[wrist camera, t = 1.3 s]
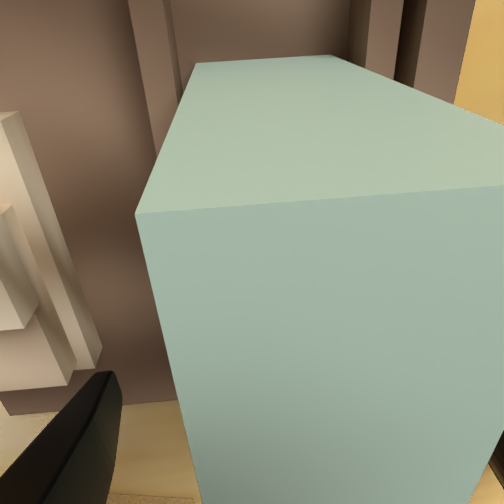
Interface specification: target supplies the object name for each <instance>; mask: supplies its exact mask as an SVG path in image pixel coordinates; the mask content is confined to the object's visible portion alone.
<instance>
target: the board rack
mask: <svg viewBox="0 0 504 504" xmlns="http://www.w3.org/2000/svg"><path fill="white" fill-rule="evenodd" d="M474 5H475V0H0V112H15V111H19V113H20V116H21V118H22V121H23V124H24V127H25V130H26V133H27V135H28V138H29V141H30V144H31V147H32V149H33V152H34V155H35V158H36V161H37V164H38V166H39V169H40V172H41V175H42V178H43V180H44V183H45V186H46V189H47V192H48V195H49V197H50V200H51V203H52V206H53V209H54V211H55V214H56V217H57V220H58V223H59V226H60V228H61V231H62V234H63V237H64V240H65V242H66V245H67V248H68V251H69V254H70V257H71V259H72V262H73V265H74V268H75V271H76V273H77V276H78V279H79V282H80V285H81V288H82V290H83V293H84V296H85V299H86V302H87V304H88V307H89V310H90V313H91V316H92V319H93V321H94V324H95V327H96V330H97V333H98V335H99V338H100V341H101V344H102V350H101V353H100V356H99V359H98V362H97V365H96V368H93V369H82V370H73V373H72V375H71V378H70V380H69V383H68V385H66V386H55V387H44V388H33V389H23V390H12V391H1V392H0V400H1V402H2V404H3V405H4V407H5V409H6V410H7V412H8V413H9V415H10V416H13V415H23V414H34V413H44V412H55V411H60V410H61V409H62V408H63V407H64V406H65V405H66V404H67V403H68V401H69V400H70V399H71V398H72V397H73V396H74V395H75V394H76V393H77V391H78V390H79V389H80V388H81V387H82V386H83V385H84V384H85V383H86V382H87V380H88V379H89V378H90V377H91V376H92V375H93V374H94V373H95V372H98V371H108V370H112V371H114V372H115V374H116V377H117V380H118V383H119V386H120V388H121V391H122V397H123V401H122V405H129V404H139V403H150V402H160V401H171V400H178V397H177V393H176V388H175V384H174V380H173V376H172V371H171V367H170V363H169V359H168V354H167V350H166V346H165V342H164V337H163V333H162V329H161V324H160V320H159V316H158V312H157V307H156V303H155V299H154V295H153V290H152V286H151V282H150V278H149V273H148V269H147V265H146V261H145V256H144V252H143V248H142V244H141V239H140V235H139V231H138V226H137V222H136V218H135V212H136V209H137V207H138V204H139V202H140V199H141V197H142V194H143V192H144V189H145V187H146V185H147V182H148V180H149V177H150V175H151V172H152V170H153V167H154V165H155V163H156V160H157V158H158V155H159V153H160V150H161V148H162V145H163V143H164V140H165V138H166V136H167V133H168V131H169V128H170V126H171V123H172V121H173V118H174V116H175V113H176V111H177V109H178V106H179V104H180V101H181V99H182V96H183V94H184V91H185V89H186V87H187V84H188V82H189V79H190V77H191V74H192V72H193V69H194V67H195V64H196V63H206V62H221V61H237V60H252V59H268V58H283V57H299V56H314V55H329V54H330V55H333V56H335V57H338V58H340V59H342V60H345V61H347V62H350V63H352V64H355V65H357V66H360V67H362V68H365V69H367V70H369V71H372V72H374V73H377V74H379V75H382V76H384V77H387V78H389V79H391V80H394V81H396V82H399V83H401V84H404V85H406V86H409V87H411V88H414V89H416V90H418V91H421V92H423V93H426V94H428V95H431V96H433V97H436V98H438V99H440V100H443V101H445V102H448V103H450V104H454V99H455V94H456V89H457V85H458V80H459V75H460V71H461V66H462V61H463V57H464V52H465V47H466V43H467V38H468V33H469V29H470V24H471V19H472V14H473V10H474Z"/></svg>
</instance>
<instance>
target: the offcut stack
mask: <svg viewBox="0 0 504 504" xmlns="http://www.w3.org/2000/svg"><path fill="white" fill-rule="evenodd" d="M101 350H102V344H101V341H100V338H99V335H98V333H97V330H96V327H95V324H94V321H93V319H92V316H91V313H90V310H89V307H88V304H87V302H86V299H85V296H84V293H83V290H82V288H81V285H80V282H79V279H78V276H77V273H76V271H75V268H74V265H73V262H72V259H71V257H70V254H69V251H68V248H67V245H66V242H65V240H64V237H63V234H62V231H61V228H60V226H59V223H58V220H57V217H56V214H55V211H54V209H53V206H52V203H51V200H50V197H49V195H48V192H47V189H46V186H45V183H44V180H43V178H42V175H41V172H40V169H39V166H38V164H37V161H36V158H35V155H34V152H33V149H32V147H31V144H30V141H29V138H28V135H27V133H26V130H25V127H24V124H23V121H22V118H21V116H20V113H19V111H15V112H0V392H1V391H12V390H23V389H33V388H44V387H55V386H66V385H68V383H69V380H70V378H71V375H72V373H73V370H82V369H93V368H96V365H97V362H98V359H99V356H100V353H101Z"/></svg>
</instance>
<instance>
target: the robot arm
mask: <svg viewBox="0 0 504 504" xmlns="http://www.w3.org/2000/svg"><path fill="white" fill-rule="evenodd" d="M122 401H123V397H122V391H121V388H120V386H119V383H118V380H117V377H116V374H115V372H114V371H112V370H108V371H98V372H95V373H94V374H93V375H92V376H91V377H90V378H89V379H88V380H87V382H86V383H85V384H84V385H83V386H82V387H81V388H80V389H79V390H78V391H77V393H76V394H75V395H74V396H73V397H72V398H71V399H70V400H69V401H68V403H67V404H66V405H65V406H64V407H63V408H62V409H61V410H60V411H59V413H58V414H57V415H56V416H55V417H54V418H53V419H52V420H51V421H50V423H49V424H48V425H47V426H46V427H45V428H44V429H43V430H42V431H41V433H40V434H39V435H38V436H37V437H36V438H35V439H34V440H33V441H32V442H31V444H30V445H29V446H28V447H27V448H26V449H25V450H24V451H23V452H22V454H21V455H20V456H19V457H18V458H17V459H16V460H15V461H14V462H13V464H12V465H11V466H10V467H9V468H8V469H7V470H6V471H5V472H4V474H3V475H2V476H1V477H0V504H106V502H107V498H108V494H109V489H110V485H111V481H112V476H113V472H114V467H115V460H116V452H117V444H118V435H119V427H120V419H121V410H122ZM488 464H489V466H490V467H491V469H492V471H493V472H494V474H495V476H496V477H497V479H498V481H499V482H500V484H501V486H502V487H503V489H504V430H503V432H502V434H501V436H500V439H499V441H498V443H497V445H496V447H495V449H494V451H493V453H492V455H491V457H490V459H489V461H488Z"/></svg>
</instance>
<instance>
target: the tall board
mask: <svg viewBox="0 0 504 504" xmlns="http://www.w3.org/2000/svg"><path fill="white" fill-rule="evenodd" d="M135 218H136V222H137V226H138V231H139V235H140V239H141V244H142V248H143V252H144V256H145V261H146V265H147V269H148V273H149V278H150V282H151V286H152V290H153V295H154V299H155V303H156V307H157V312H158V316H159V320H160V324H161V329H162V333H163V337H164V342H165V346H166V350H167V354H168V359H169V363H170V367H171V371H172V376H173V380H174V384H175V388H176V393H177V397H178V401H179V405H180V410H181V414H182V418H183V422H184V427H185V431H186V435H187V440H188V444H189V448H190V452H191V457H192V461H193V465H194V469H195V474H196V478H197V482H198V486H199V491H200V495H201V499H202V503H203V504H468V503H469V501H470V499H471V496H472V494H473V492H474V490H475V488H476V486H477V484H478V482H479V480H480V478H481V476H482V474H483V472H484V470H485V467H486V465H487V463H488V461H489V459H490V457H491V455H492V453H493V451H494V449H495V447H496V445H497V443H498V441H499V439H500V436H501V434H502V432H503V430H504V125H502V124H499V123H497V122H494V121H492V120H489V119H487V118H485V117H482V116H480V115H477V114H475V113H472V112H470V111H467V110H465V109H462V108H460V107H458V106H455V105H453V104H450V103H448V102H445V101H443V100H440V99H438V98H436V97H433V96H431V95H428V94H426V93H423V92H421V91H418V90H416V89H414V88H411V87H409V86H406V85H404V84H401V83H399V82H396V81H394V80H391V79H389V78H387V77H384V76H382V75H379V74H377V73H374V72H372V71H369V70H367V69H365V68H362V67H360V66H357V65H355V64H352V63H350V62H347V61H345V60H342V59H340V58H338V57H335V56H333V55H330V54H329V55H314V56H299V57H283V58H268V59H252V60H237V61H221V62H206V63H196V64H195V67H194V69H193V72H192V74H191V77H190V79H189V82H188V84H187V87H186V89H185V91H184V94H183V96H182V99H181V101H180V104H179V106H178V109H177V111H176V113H175V116H174V118H173V121H172V123H171V126H170V128H169V131H168V133H167V136H166V138H165V140H164V143H163V145H162V148H161V150H160V153H159V155H158V158H157V160H156V163H155V165H154V167H153V170H152V172H151V175H150V177H149V180H148V182H147V185H146V187H145V189H144V192H143V194H142V197H141V199H140V202H139V204H138V207H137V209H136V212H135Z"/></svg>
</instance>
